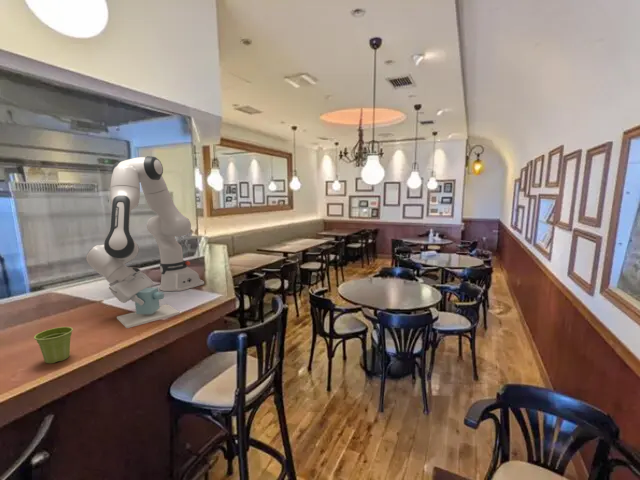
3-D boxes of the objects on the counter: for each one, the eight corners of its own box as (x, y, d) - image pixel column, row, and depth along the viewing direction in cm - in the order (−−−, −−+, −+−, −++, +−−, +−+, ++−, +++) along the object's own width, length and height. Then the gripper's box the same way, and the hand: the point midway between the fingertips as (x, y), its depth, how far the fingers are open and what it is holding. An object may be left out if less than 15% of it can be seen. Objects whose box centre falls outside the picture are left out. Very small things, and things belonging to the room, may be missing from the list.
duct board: (167, 306, 150) (165, 292, 149) (179, 313, 140) (178, 298, 139) (116, 318, 136) (115, 303, 135) (126, 328, 126) (124, 311, 125)
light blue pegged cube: (144, 308, 141) (142, 288, 140) (167, 308, 141) (165, 287, 140) (136, 314, 135) (134, 292, 133) (159, 313, 135) (157, 292, 133)
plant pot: (55, 351, 109) (51, 326, 108) (83, 351, 109) (79, 326, 107) (29, 366, 100) (25, 339, 98) (60, 366, 99) (56, 339, 98)
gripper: (111, 279, 125) (139, 303, 127) (140, 266, 145) (164, 287, 147) (100, 291, 126) (129, 315, 127) (131, 276, 146) (155, 297, 148)
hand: (148, 300), depth 137 cm, fingers closed on light blue pegged cube, 6 cm apart
